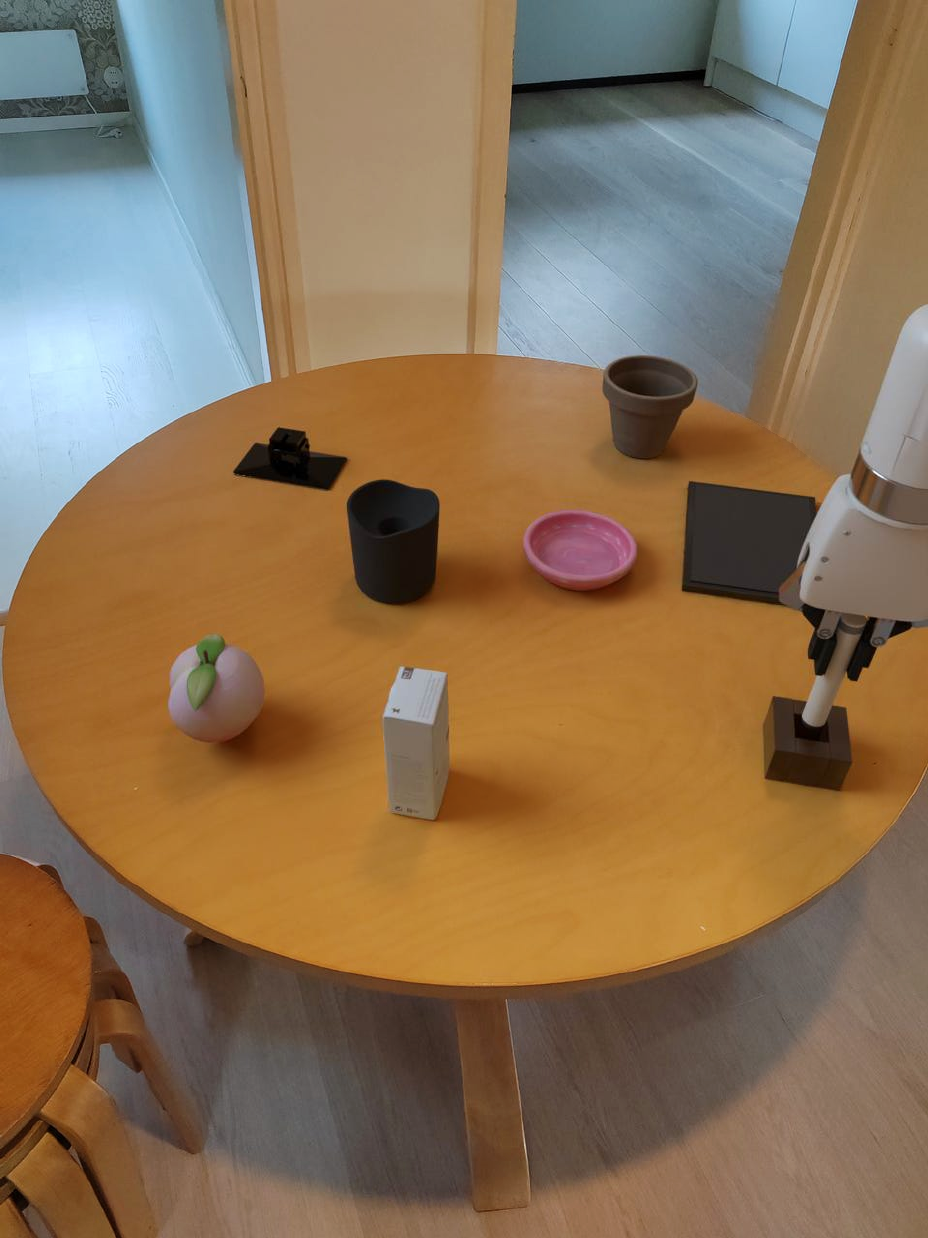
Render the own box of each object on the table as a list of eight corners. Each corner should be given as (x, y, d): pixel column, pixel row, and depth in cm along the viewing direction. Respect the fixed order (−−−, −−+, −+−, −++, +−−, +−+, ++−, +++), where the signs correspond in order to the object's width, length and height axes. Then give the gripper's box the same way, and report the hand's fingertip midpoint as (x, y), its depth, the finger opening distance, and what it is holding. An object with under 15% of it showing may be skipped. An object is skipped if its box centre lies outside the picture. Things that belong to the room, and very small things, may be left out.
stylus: (821, 719, 87) (866, 610, 78) (823, 736, 86) (868, 627, 77) (798, 715, 88) (839, 606, 79) (799, 732, 86) (841, 623, 77)
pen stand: (834, 736, 92) (846, 707, 89) (839, 791, 87) (852, 762, 84) (762, 724, 92) (772, 695, 90) (764, 778, 88) (774, 749, 85)
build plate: (232, 475, 121) (227, 442, 118) (256, 444, 126) (251, 412, 123) (328, 490, 119) (325, 457, 115) (348, 458, 124) (346, 426, 121)
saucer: (587, 517, 116) (590, 495, 113) (657, 576, 108) (661, 553, 106) (499, 552, 111) (501, 529, 108) (566, 616, 103) (569, 593, 101)
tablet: (813, 502, 119) (815, 496, 118) (824, 611, 104) (827, 604, 104) (687, 486, 121) (689, 479, 120) (681, 590, 106) (683, 583, 106)
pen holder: (416, 543, 111) (414, 469, 105) (454, 592, 105) (455, 516, 99) (338, 566, 108) (332, 491, 101) (373, 618, 102) (369, 542, 95)
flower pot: (643, 413, 133) (655, 344, 127) (702, 452, 126) (717, 382, 120) (576, 437, 129) (584, 367, 122) (634, 479, 122) (645, 407, 115)
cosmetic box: (436, 822, 83) (437, 727, 75) (385, 813, 84) (380, 718, 76) (451, 766, 88) (453, 671, 80) (402, 758, 88) (398, 663, 80)
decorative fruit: (272, 762, 88) (258, 684, 81) (178, 773, 87) (156, 696, 80) (268, 686, 95) (256, 609, 88) (181, 696, 93) (161, 618, 87)
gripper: (1015, 468, 71) (927, 650, 83) (789, 439, 73) (736, 622, 85) (1038, 530, 65) (940, 715, 78) (794, 497, 68) (736, 683, 80)
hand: (834, 665), depth 82 cm, fingers closed on stylus, 2 cm apart
